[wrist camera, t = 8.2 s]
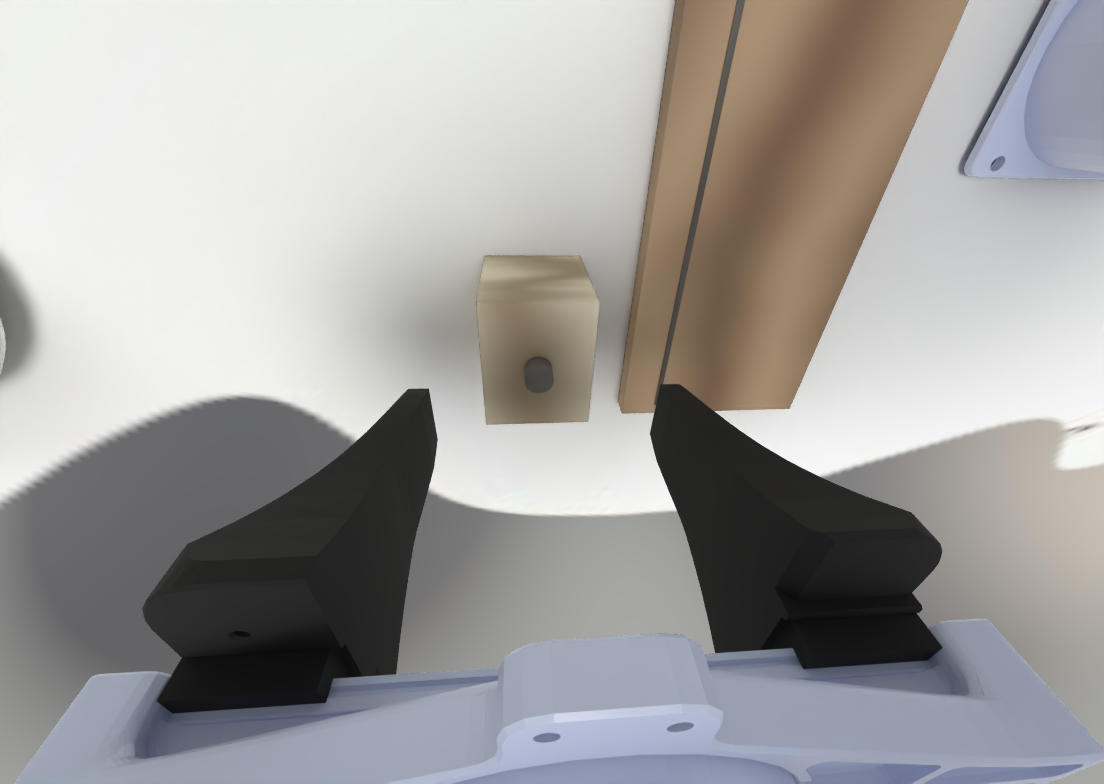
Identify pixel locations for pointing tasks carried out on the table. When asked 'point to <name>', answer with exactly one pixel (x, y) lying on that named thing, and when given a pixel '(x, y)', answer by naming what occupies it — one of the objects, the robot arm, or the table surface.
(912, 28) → the board
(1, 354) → the flower in vase
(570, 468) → the table surface
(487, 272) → the beige boxy piece
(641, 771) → the robot arm
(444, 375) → the table surface
